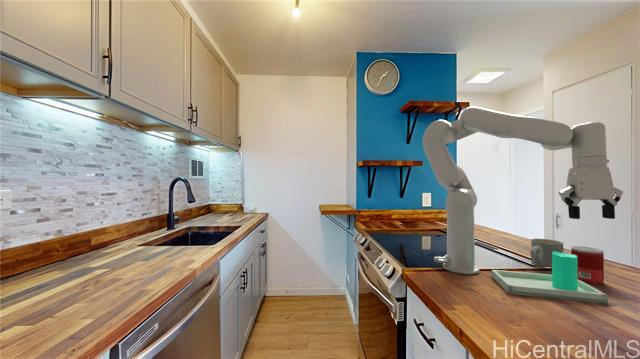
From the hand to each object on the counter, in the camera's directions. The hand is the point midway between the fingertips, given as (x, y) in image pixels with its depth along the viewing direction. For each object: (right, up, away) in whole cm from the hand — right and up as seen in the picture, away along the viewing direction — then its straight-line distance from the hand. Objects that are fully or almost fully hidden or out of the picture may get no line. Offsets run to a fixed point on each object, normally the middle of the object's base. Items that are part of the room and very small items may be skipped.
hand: (591, 218), depth 81 cm
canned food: (+10, -24, +11) cm, 28 cm away
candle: (-6, -22, +2) cm, 23 cm away
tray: (-12, -23, +4) cm, 26 cm away
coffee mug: (+8, -24, +27) cm, 37 cm away
